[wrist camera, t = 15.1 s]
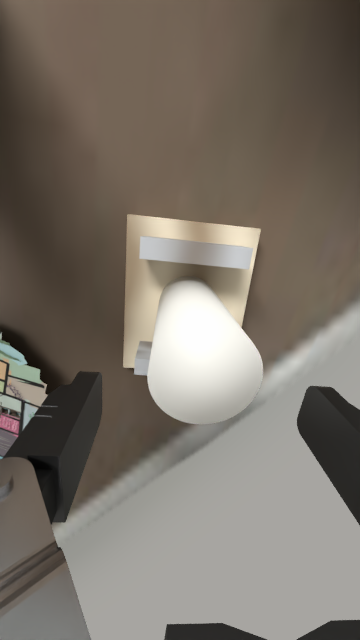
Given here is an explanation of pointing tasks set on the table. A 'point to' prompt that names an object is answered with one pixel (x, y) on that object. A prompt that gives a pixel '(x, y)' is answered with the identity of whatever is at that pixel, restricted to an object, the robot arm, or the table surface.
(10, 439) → the city model
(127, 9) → the table surface
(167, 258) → the holder
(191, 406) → the white rounded tapered piece
